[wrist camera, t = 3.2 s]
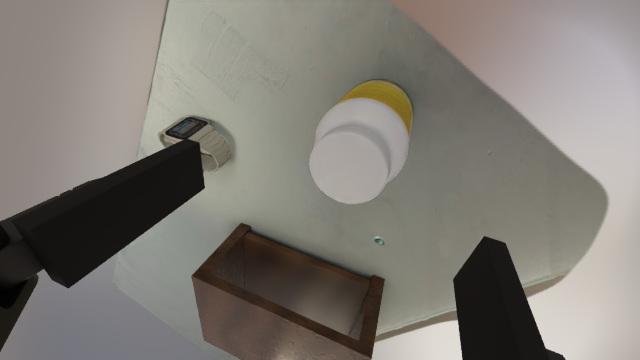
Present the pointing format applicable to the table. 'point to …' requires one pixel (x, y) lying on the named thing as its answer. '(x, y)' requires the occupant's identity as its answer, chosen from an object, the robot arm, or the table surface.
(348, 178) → the pill bottle
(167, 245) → the table surface
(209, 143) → the wristwatch
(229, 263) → the shelf
